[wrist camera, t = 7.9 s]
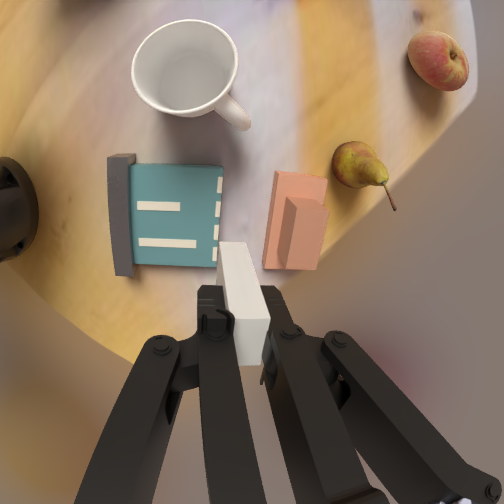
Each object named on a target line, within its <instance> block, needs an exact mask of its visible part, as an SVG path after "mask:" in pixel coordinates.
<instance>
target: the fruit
mask: <svg viewBox="0 0 504 504" xmlns="http://www.w3.org/2000/svg"><path fill="white" fill-rule="evenodd" d="M332 166H333V170H334V173H335V175H336V177H337V179H338V180H339V181H340V182H341V183H343V184H344V185H346V186H348V187H351V188H356V189H358V188H363V187H366V186H369V185H374V186H384V188H385V190H386V192H387V195H388V196H389V199H390V202H391V205H392V208H393V210H394V211H395V210H396V206H395V204H394V202H393V200H392V197H391V195H390V193H389V192H388V188H387V186H386V183H387V182H388V179H389V174H388V171H387V169H386V167H385V166H384V164H383V163H382V162H381V161H380V160H379V159H378V158H377V156H376V154H375V152H374V150H373V149H372V148H371V147H370V146H369V145H367V144H365V143H362V142H358V141H352V142H347V143H344V144H342V145H340V146H338V148H337V149H336V150H335V152H334V154H333V158H332Z"/></svg>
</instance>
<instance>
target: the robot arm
mask: <svg viewBox="0 0 504 504" xmlns="http://www.w3.org/2000/svg"><path fill="white" fill-rule="evenodd" d="M37 225H38V205H37V199H36V195H35V191H34V188H33V185H32V183H31V180H30V178H29V177H28V175H27V173H26V172H25V170H24V169H23V168H22V167H21V165H20V164H18V163H17V162H16V161H15V160H13V159H11V158H8V157H0V263H1V262H4V261H7V260H10V259H13V258H16V257H17V256H19V255H20V254H21V253H22V252H24V251H25V250H26V249H27V248H28V247H29V246H30V244H31V243H32V241H33V239H34V237H35V234H36V231H37ZM216 284H217V285H202V286H201V287H200V288H199V290H198V293H197V331H196V333H195V334H194V335H193V336H192V337H190V338H188V339H185V340H182V341H176V340H175V339H174V338H173V337H170V336H167V335H157V336H153V337H151V338H150V339H148V340H147V341H146V342H145V344H144V346H143V348H142V350H141V352H140V354H139V356H138V358H137V359H136V361H135V363H134V365H133V368H132V370H131V372H130V374H129V376H128V378H127V380H126V382H125V384H124V386H123V388H122V390H121V392H120V394H119V397H118V399H117V401H116V403H115V405H114V407H113V409H112V412H111V414H110V416H109V418H108V420H107V423H106V425H105V427H104V429H103V432H102V434H101V436H100V439H99V441H98V443H97V446H96V448H95V450H94V453H93V455H92V458H91V460H90V463H89V465H88V468H87V470H86V473H85V475H84V478H83V480H82V483H81V486H80V488H79V491H78V494H77V496H76V499H75V502H74V504H152V500H153V496H154V493H155V489H156V485H157V481H158V478H159V474H160V471H161V467H162V463H163V460H164V456H165V453H166V449H167V446H168V442H169V439H170V435H171V432H172V428H173V425H174V422H175V418H176V415H177V412H178V408H179V405H180V401H181V398H182V395H183V391H186V390H189V389H193V388H197V387H199V396H200V410H201V411H200V412H201V426H202V438H203V450H204V458H205V459H204V460H205V469H206V478H207V487H208V494H209V501H210V504H267V502H266V498H265V494H264V489H263V485H262V481H261V477H260V472H259V467H258V462H257V458H256V453H255V449H254V444H253V439H252V434H251V429H250V424H249V420H248V414H247V409H246V404H245V398H244V393H243V387H242V382H241V376H240V371H239V366H249V365H260V363H261V359H263V362H264V368H263V372H262V375H261V379H260V385H262V384H263V381H264V382H265V386H266V390H267V394H268V398H269V402H270V406H271V410H272V414H273V418H274V422H275V426H276V429H277V433H278V437H279V441H280V445H281V449H282V452H283V456H284V460H285V464H286V467H287V471H288V475H289V479H290V482H291V486H292V489H293V493H294V497H295V500H296V504H390V503H389V501H388V499H387V497H386V495H385V494H384V493H383V492H382V491H381V490H379V489H376V488H373V487H372V486H371V485H370V483H369V482H368V479H367V477H366V474H365V472H364V469H363V467H362V465H361V462H360V460H359V457H358V455H357V453H356V450H357V451H358V452H359V454H360V455H361V456H362V458H363V459H364V460H365V461H366V463H367V464H368V466H369V467H370V468H371V470H372V471H373V472H374V473H375V475H376V476H377V477H378V479H379V480H380V481H381V482H382V484H383V485H384V486H385V488H386V489H387V490H388V491H389V492H390V494H391V495H392V496H393V498H394V499H395V500H396V501H397V502H398V503H399V504H496V503H497V502H498V501H499V499H500V496H501V492H502V488H501V483H500V482H499V480H498V479H497V478H495V477H493V476H491V475H488V474H487V473H484V472H482V471H480V470H478V469H476V468H474V467H472V466H470V465H468V464H467V463H466V462H465V461H464V460H463V459H462V458H461V457H460V455H459V454H458V453H457V452H456V451H455V450H454V449H453V448H452V447H451V445H450V444H449V443H448V442H447V441H446V440H445V439H444V437H443V436H442V435H441V434H440V433H439V432H438V431H437V430H436V429H435V427H434V426H433V425H432V424H431V423H430V422H429V421H428V420H427V419H426V418H425V417H424V415H423V414H422V413H421V412H420V411H419V410H418V409H417V408H416V407H415V405H414V404H413V403H412V402H411V401H410V400H409V399H408V398H407V397H406V395H405V394H403V392H402V391H401V390H400V389H399V388H398V387H397V386H396V385H395V384H394V382H393V381H392V380H391V379H390V378H389V377H388V376H387V375H386V374H385V373H384V372H383V371H382V369H381V368H380V367H379V366H378V365H377V364H376V363H375V362H374V361H373V360H372V359H371V358H370V357H369V356H368V354H367V353H366V352H365V351H364V350H363V349H362V348H361V347H360V346H359V345H358V344H357V343H356V342H355V341H354V339H353V338H352V337H351V336H349V335H348V334H346V333H344V332H342V331H330V332H328V333H327V334H326V335H325V337H324V338H319V337H313V336H309V335H306V334H305V332H304V331H303V329H302V328H301V327H299V326H298V325H296V324H294V323H293V320H292V318H291V316H290V313H289V311H288V308H287V306H286V305H285V301H284V300H283V297H282V294H281V292H280V291H279V290H278V289H277V288H276V287H275V286H261V285H259V282H258V279H257V276H256V273H255V270H254V267H253V264H252V261H251V258H250V255H249V252H248V249H247V246H246V243H243V242H220V241H219V252H218V265H217V279H216ZM340 375H341V376H342V377H341V376H340ZM354 447H355V448H356V450H355V448H354Z"/></svg>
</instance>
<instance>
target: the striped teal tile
mask: <svg viewBox="0 0 504 504" xmlns="http://www.w3.org/2000/svg"><path fill="white" fill-rule="evenodd" d="M223 170H224V169H223V166H212V165H191V164H131V172H130V186H131V221H132V238H133V251H134V262H135V264H154V265H176V266H201V267H216V261H217V245H218V231H219V217H220V205H221V193H222V181H223Z"/></svg>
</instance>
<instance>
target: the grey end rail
mask: <svg viewBox="0 0 504 504" xmlns="http://www.w3.org/2000/svg"><path fill="white" fill-rule="evenodd" d="M135 157H136V154H115V155H113V156H110V157H108V158H107V185H108V208H109V222H110V234H111V244H112V253H113V261H114V268H115V275H116V276H127V277H133V276H134V274H135V272H136V269H137V267H138V265H139V264H135V262H134V251H133V238H132V221H131V186H130V172H131V164H132V163H134V162H135Z"/></svg>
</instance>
